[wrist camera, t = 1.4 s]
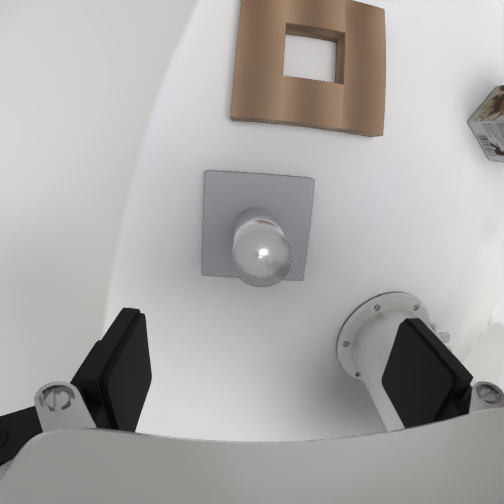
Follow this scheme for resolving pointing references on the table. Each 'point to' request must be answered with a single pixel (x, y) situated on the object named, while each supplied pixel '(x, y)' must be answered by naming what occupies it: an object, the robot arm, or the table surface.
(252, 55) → the hole board
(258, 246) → the peg
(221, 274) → the pad
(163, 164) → the table surface
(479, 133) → the coffee box
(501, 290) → the table surface
